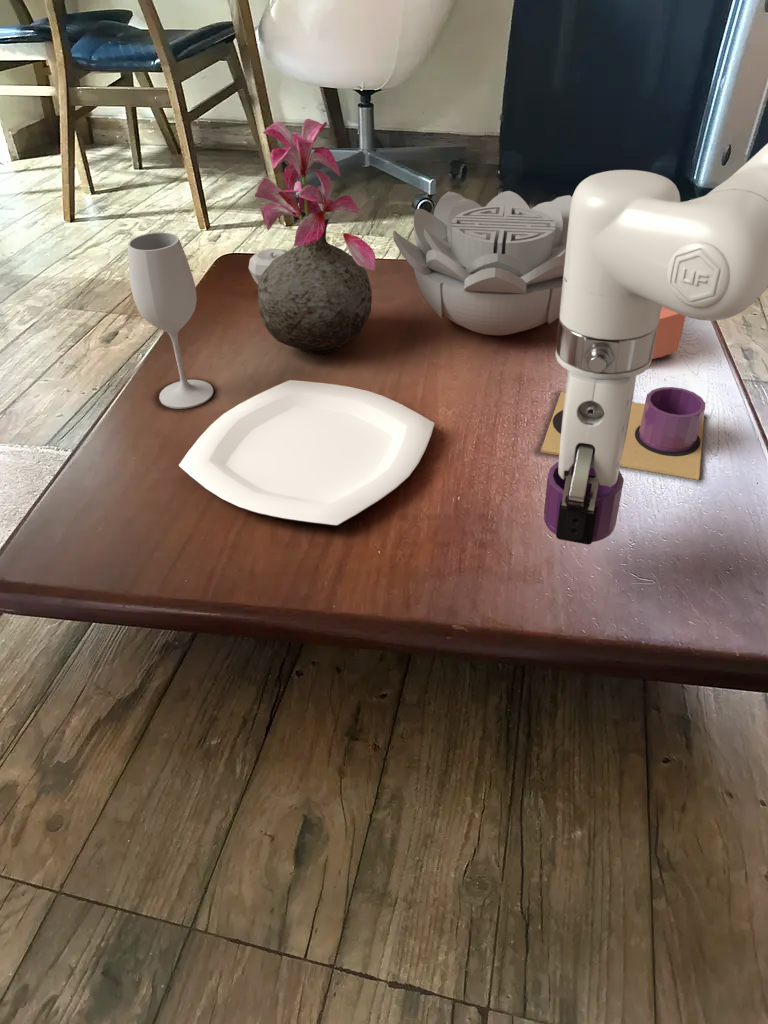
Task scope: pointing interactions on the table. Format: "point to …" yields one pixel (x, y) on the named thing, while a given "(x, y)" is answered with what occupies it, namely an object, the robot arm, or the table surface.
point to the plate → (309, 451)
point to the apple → (263, 261)
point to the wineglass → (166, 304)
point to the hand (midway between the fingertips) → (580, 513)
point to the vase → (312, 255)
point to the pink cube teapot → (668, 333)
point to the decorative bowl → (491, 261)
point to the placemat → (636, 447)
